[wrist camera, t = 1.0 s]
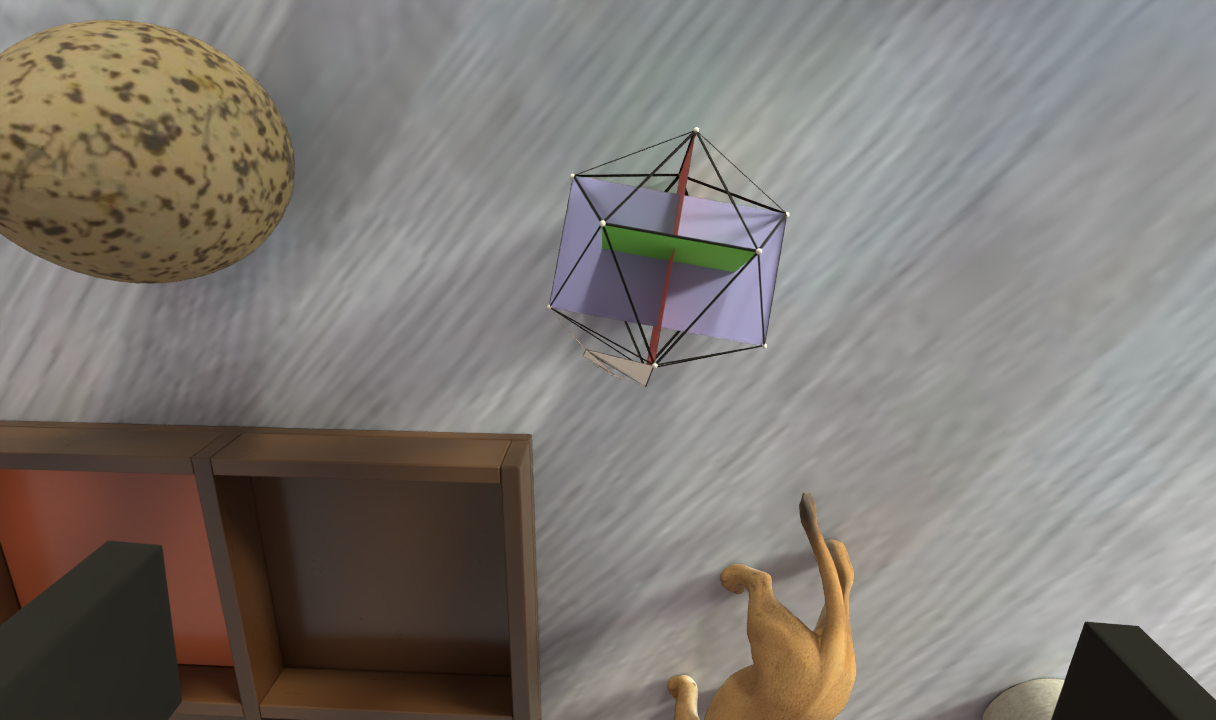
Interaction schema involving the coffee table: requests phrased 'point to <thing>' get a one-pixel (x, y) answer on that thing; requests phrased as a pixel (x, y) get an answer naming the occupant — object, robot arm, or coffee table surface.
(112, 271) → the decorative egg
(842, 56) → the coffee table surface
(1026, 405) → the coffee table surface
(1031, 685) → the house plant
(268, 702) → the sorting tray
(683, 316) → the geometric puzzle
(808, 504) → the lion figurine
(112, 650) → the robot arm
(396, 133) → the coffee table surface
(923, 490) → the coffee table surface
